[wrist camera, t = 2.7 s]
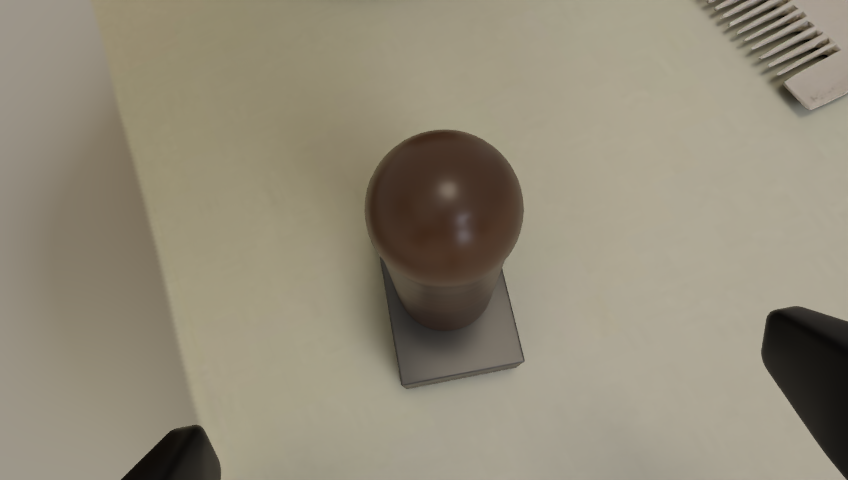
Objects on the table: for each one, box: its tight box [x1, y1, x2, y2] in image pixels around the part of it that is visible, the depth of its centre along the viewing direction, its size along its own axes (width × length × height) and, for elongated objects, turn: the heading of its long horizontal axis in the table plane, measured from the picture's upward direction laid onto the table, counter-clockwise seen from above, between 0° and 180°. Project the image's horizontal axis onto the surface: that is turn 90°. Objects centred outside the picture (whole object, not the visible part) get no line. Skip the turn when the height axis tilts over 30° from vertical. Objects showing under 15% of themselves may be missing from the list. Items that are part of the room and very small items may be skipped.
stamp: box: [365, 130, 524, 389], centre depth 15 cm, size 6×4×10 cm, turn 11°
